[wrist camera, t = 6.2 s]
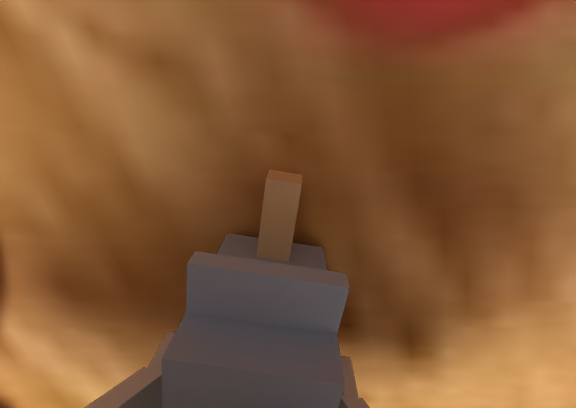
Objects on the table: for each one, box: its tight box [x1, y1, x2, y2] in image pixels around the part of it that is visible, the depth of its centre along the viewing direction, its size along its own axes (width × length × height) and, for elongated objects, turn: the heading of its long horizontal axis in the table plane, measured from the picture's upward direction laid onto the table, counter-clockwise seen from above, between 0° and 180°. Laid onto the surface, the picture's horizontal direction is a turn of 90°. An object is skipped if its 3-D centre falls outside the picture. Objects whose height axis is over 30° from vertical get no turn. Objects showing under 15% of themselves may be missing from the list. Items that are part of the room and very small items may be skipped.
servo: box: [162, 170, 350, 408], centre depth 10 cm, size 4×12×7 cm, turn 172°
